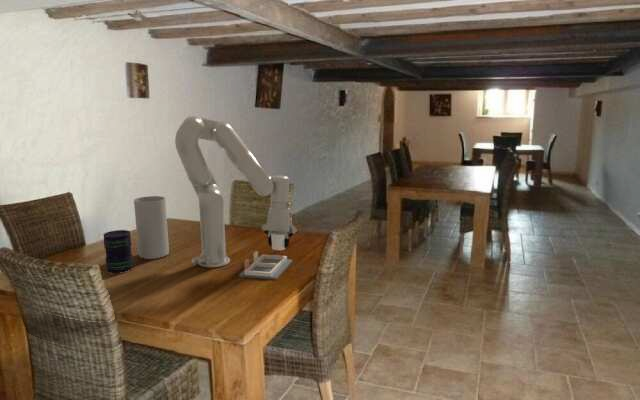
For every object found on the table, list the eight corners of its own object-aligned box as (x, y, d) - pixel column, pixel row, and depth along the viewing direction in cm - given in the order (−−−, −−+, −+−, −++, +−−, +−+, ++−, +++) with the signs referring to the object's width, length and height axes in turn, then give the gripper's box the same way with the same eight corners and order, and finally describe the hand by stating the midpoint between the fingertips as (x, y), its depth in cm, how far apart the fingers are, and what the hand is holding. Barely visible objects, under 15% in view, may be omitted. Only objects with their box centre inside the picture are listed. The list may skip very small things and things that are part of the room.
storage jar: (104, 275, 180) (100, 237, 177) (108, 266, 189) (105, 231, 186) (132, 272, 182) (128, 235, 179) (135, 264, 191) (131, 229, 188)
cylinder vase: (132, 257, 200) (127, 200, 195) (154, 249, 211) (150, 195, 206) (153, 261, 195) (148, 203, 190) (175, 253, 206) (171, 197, 201)
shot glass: (284, 251, 195) (284, 235, 194) (268, 249, 197) (268, 233, 195) (288, 247, 202) (288, 231, 201) (273, 245, 203) (273, 230, 202)
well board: (276, 279, 174) (276, 267, 173) (238, 276, 177) (238, 264, 176) (292, 261, 194) (292, 250, 193) (258, 259, 197) (258, 248, 196)
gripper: (301, 205, 198) (300, 245, 201) (263, 201, 201) (262, 241, 205) (297, 208, 190) (295, 250, 194) (257, 205, 194) (256, 246, 198)
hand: (278, 245), depth 199 cm, fingers closed on shot glass, 6 cm apart
